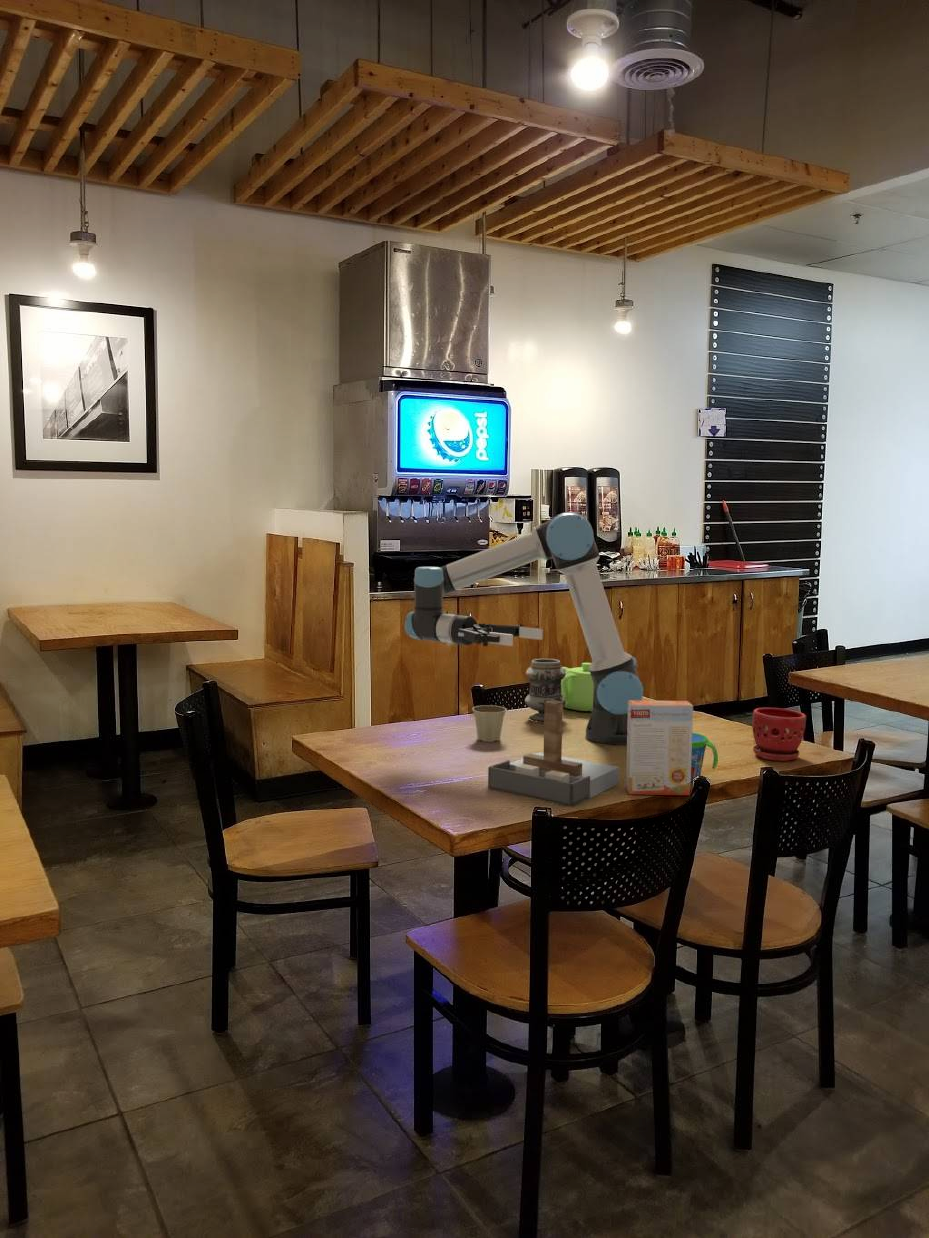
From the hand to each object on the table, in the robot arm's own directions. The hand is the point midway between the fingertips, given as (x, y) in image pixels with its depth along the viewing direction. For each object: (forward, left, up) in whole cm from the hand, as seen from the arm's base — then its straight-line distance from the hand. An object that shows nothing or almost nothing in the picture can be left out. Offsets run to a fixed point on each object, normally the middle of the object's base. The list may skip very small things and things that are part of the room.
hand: (527, 637), depth 247 cm
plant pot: (-47, +48, -32) cm, 74 cm away
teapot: (-70, -20, -32) cm, 80 cm away
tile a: (+16, +12, -29) cm, 35 cm away
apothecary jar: (-46, -22, -32) cm, 60 cm away
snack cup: (-13, +37, -32) cm, 51 cm away
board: (+8, +16, -32) cm, 37 cm away
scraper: (+13, +16, -28) cm, 35 cm away
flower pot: (-15, -21, -32) cm, 41 cm away
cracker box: (+1, +37, -32) cm, 49 cm away
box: (+19, +16, -32) cm, 40 cm away
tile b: (+17, +20, -29) cm, 39 cm away
